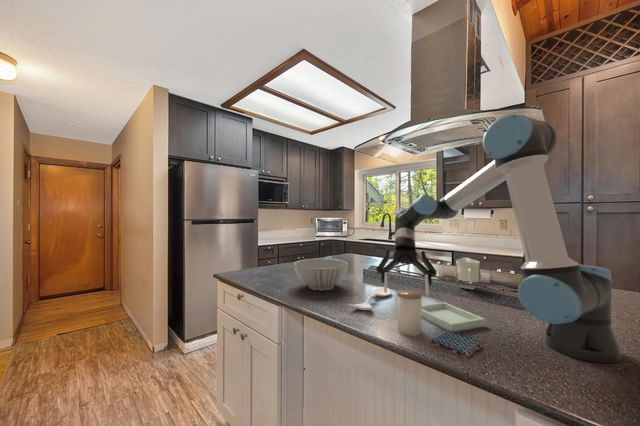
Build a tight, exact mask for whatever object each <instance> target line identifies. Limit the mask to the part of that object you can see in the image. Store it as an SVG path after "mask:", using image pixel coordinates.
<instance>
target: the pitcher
mask: <svg viewBox="0 0 640 426" xmlns="http://www.w3.org/2000/svg"><path fill="white" fill-rule="evenodd" d="M455 263H456V267H455V271H454V278H455V280H456V279H458V280H462V281H469V284H472V282H479V281H480V282H481V278H482V277H481V275H482V274H481V269H480V263H481V262H480V261H479V260H477V259H472V258H470V257H464V256H463V257H461V258H457V259H456V260H455Z"/></svg>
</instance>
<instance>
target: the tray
mask: <svg viewBox="0 0 640 426" xmlns="http://www.w3.org/2000/svg"><path fill="white" fill-rule="evenodd" d="M422 319H424V320H426V321H428V322H429V323H431V324H433V325H436V326H437V327H440V328H441V329H443V330H444V331H448V330H450V332H455V333H458V332H459V333H460V332H463V331H469V330H473V329H474V330H475V329H479V328H484V327H486V319H485V318H484V317H482V316H479V315H477V314H474V313H473V312H469V311H467V310H465V309H462V308H459V307H457V306H454V305H452V304H449V303H447V302H444V301H442V302H433V303H427V304H422Z"/></svg>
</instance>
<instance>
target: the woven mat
mask: <svg viewBox="0 0 640 426" xmlns="http://www.w3.org/2000/svg"><path fill="white" fill-rule="evenodd" d="M430 345H431V346H434V347H436V348H439V349H441V350H444V351H446V352H449V353H451V354H453V355H457V356H459V357H462V358H463V359H468V357H470V356H471V355H473V354H474V352H476V351H478V350H480V349H481V348H482V347H483V345H482V344H481V341H479V340H478V339H473V338H472V337H467V335H461V333H456V332H450V330H448V331H447V330H445V331H444V332H441V334H440V333H439V335H436V336H433V338H431V339H430Z"/></svg>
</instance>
